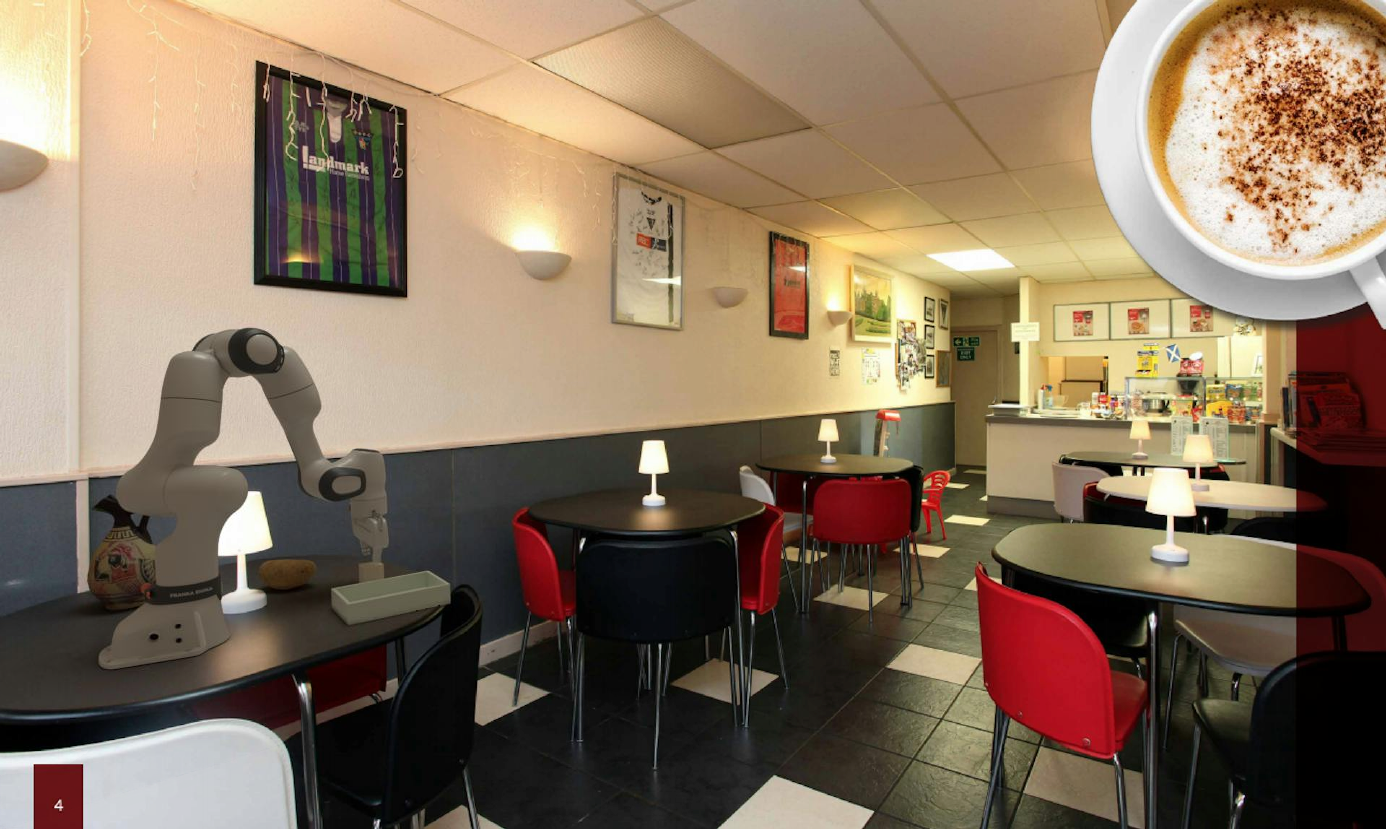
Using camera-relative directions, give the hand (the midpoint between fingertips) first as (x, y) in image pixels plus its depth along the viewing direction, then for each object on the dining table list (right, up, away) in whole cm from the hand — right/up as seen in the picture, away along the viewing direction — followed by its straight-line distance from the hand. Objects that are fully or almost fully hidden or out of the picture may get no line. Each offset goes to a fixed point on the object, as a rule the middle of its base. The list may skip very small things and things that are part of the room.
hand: (371, 558), depth 189 cm
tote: (+11, -9, -13) cm, 20 cm away
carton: (0, -9, 0) cm, 9 cm away
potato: (-23, -9, +1) cm, 25 cm away
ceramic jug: (-56, -10, -11) cm, 57 cm away
